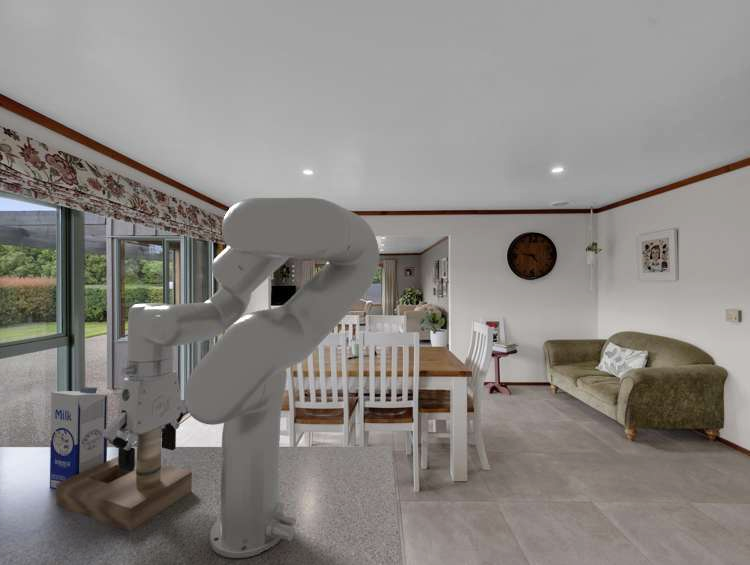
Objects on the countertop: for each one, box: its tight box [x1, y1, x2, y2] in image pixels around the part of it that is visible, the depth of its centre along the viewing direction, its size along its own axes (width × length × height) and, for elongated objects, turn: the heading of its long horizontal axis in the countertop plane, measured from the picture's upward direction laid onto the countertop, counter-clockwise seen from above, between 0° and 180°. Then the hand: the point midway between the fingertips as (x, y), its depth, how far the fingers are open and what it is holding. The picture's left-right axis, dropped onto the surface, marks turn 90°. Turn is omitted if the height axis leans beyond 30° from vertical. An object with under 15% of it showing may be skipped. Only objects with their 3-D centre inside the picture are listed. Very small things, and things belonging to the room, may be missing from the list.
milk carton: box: [49, 386, 109, 490], centre depth 78 cm, size 7×7×20 cm
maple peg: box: [136, 426, 163, 490], centre depth 71 cm, size 4×4×12 cm
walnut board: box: [55, 456, 193, 532], centre depth 73 cm, size 20×13×4 cm, turn 70°
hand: (148, 457), depth 71 cm, fingers open, 8 cm apart
